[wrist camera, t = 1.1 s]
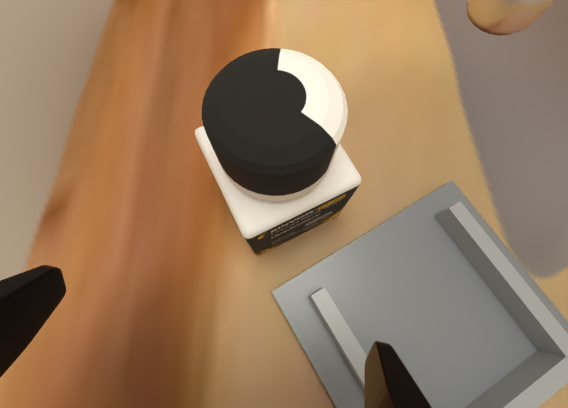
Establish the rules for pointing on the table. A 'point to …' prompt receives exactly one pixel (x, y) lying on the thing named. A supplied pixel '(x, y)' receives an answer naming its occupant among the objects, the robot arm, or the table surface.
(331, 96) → the medicine bottle
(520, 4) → the plastic bottle
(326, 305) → the bottle holder
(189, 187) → the table surface
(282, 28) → the table surface
